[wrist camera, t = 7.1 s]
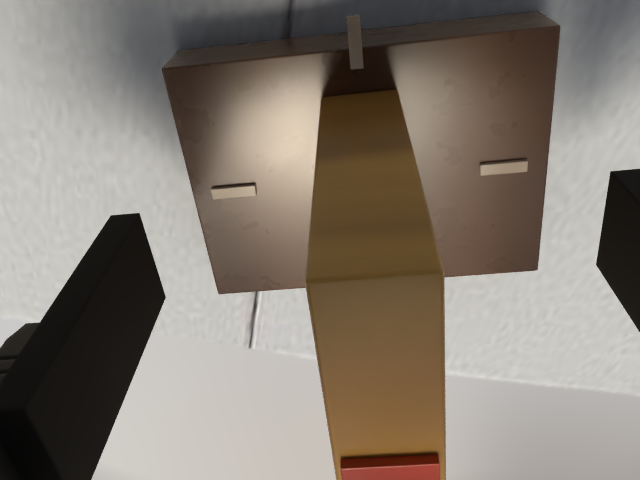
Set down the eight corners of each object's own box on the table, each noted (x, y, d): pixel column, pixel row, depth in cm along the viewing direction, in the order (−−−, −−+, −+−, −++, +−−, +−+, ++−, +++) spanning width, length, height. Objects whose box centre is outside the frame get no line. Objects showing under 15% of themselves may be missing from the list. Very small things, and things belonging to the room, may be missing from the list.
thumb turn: (320, 96, 17) (303, 289, 9) (397, 88, 17) (446, 278, 9) (339, 256, 20) (338, 507, 12) (405, 250, 20) (448, 502, 12)
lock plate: (231, 280, 23) (222, 316, 21) (170, 22, 18) (151, 39, 16) (521, 259, 22) (537, 294, 20) (542, -21, 17) (566, -8, 15)
